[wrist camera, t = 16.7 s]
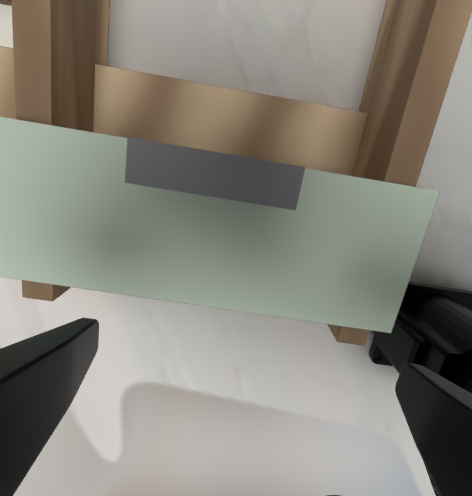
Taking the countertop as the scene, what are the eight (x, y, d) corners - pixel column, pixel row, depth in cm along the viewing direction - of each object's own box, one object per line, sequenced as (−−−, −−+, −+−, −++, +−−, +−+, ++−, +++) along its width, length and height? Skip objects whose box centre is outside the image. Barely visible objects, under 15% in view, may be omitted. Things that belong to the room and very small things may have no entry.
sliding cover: (428, 189, 14) (486, 197, 10) (383, 324, 16) (421, 366, 12) (0, 117, 13) (-78, 102, 10) (8, 270, 15) (-55, 300, 11)
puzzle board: (454, -109, 15) (572, -253, 10) (339, 301, 21) (373, 346, 16) (-124, -235, 14) (-345, -481, 9) (-67, 241, 20) (-174, 269, 15)
